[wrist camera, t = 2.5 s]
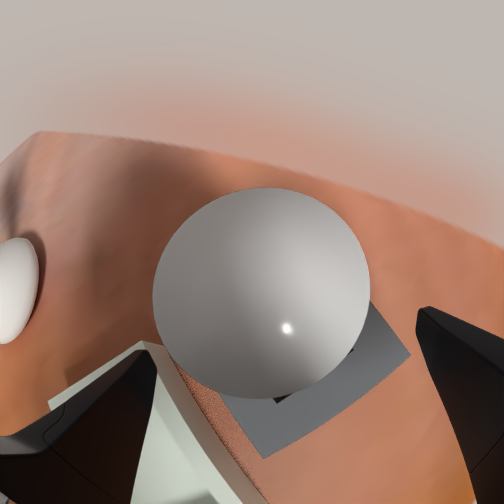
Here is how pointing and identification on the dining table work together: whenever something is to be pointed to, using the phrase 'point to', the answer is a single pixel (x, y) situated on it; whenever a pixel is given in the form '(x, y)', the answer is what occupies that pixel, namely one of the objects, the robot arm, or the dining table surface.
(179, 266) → the frosted bulb
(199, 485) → the parts tray
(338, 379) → the socket block
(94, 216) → the dining table surface
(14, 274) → the flower in vase
